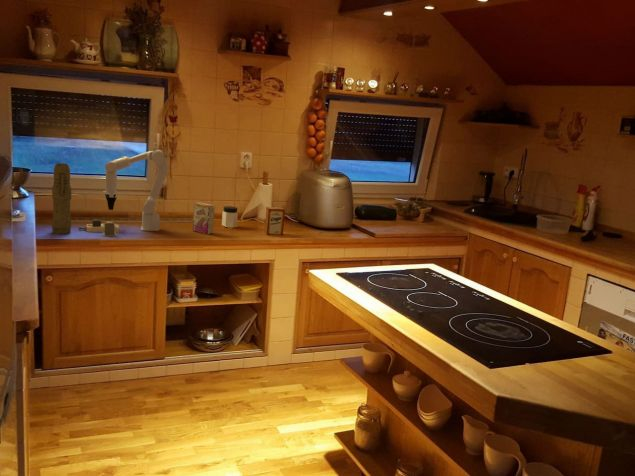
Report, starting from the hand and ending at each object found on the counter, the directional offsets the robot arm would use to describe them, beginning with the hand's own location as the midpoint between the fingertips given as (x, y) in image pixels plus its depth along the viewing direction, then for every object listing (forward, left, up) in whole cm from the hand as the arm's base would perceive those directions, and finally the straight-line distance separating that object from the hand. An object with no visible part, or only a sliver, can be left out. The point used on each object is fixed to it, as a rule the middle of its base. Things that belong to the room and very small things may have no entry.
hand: (110, 208), depth 327 cm
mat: (+1, +19, -10) cm, 22 cm away
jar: (-68, -7, -11) cm, 69 cm away
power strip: (+6, +9, -10) cm, 15 cm away
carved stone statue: (+24, +15, -11) cm, 30 cm away
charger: (+1, +19, -10) cm, 21 cm away
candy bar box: (-49, +10, -11) cm, 51 cm away
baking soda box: (-90, +12, -11) cm, 91 cm away
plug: (+7, +9, -8) cm, 14 cm away
